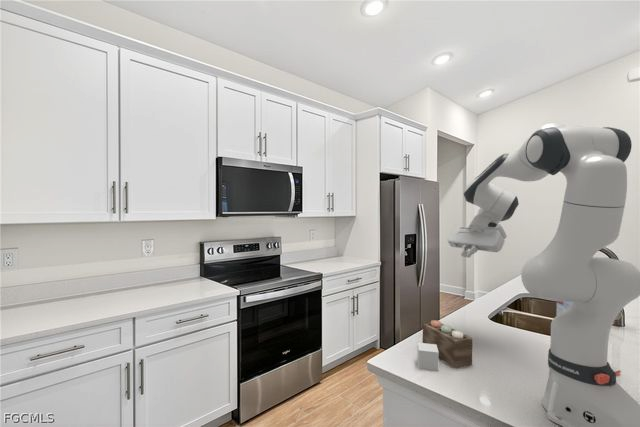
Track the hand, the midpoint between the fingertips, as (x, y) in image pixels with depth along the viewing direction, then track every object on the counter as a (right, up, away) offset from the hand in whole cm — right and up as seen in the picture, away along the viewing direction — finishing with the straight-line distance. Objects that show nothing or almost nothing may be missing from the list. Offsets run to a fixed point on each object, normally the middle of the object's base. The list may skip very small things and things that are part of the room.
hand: (465, 256), depth 118 cm
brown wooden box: (-10, -33, -8) cm, 36 cm away
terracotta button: (-12, -26, -3) cm, 29 cm away
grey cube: (-19, -34, -14) cm, 41 cm away
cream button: (-8, -26, -13) cm, 30 cm away
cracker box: (+32, -34, -11) cm, 48 cm away
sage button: (-10, -26, -8) cm, 29 cm away
